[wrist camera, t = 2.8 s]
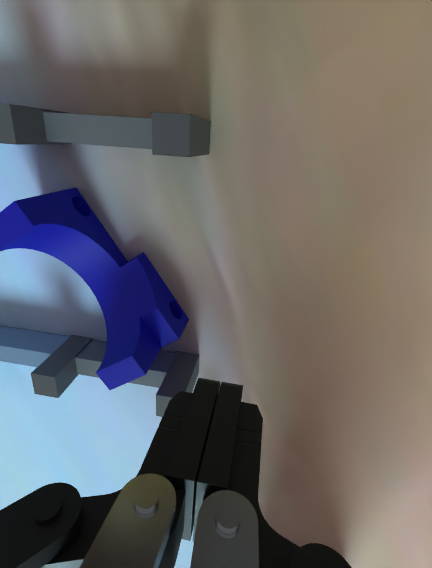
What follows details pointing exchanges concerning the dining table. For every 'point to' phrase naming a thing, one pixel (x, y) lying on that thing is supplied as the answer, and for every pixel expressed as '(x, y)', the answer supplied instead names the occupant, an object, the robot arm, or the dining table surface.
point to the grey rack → (80, 350)
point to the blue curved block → (100, 279)
